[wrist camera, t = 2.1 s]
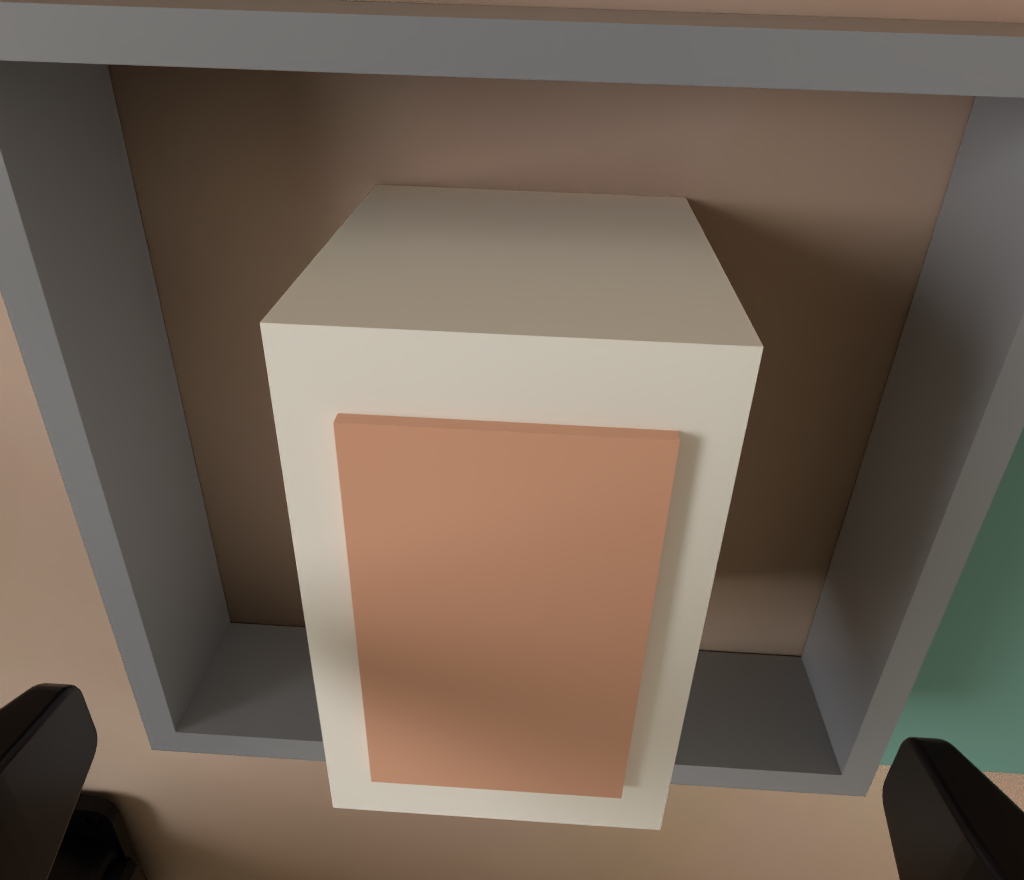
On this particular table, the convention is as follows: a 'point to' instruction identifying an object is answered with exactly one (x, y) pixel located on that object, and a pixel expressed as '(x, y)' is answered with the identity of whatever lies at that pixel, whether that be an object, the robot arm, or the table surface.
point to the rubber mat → (979, 646)
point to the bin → (532, 56)
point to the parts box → (508, 493)
